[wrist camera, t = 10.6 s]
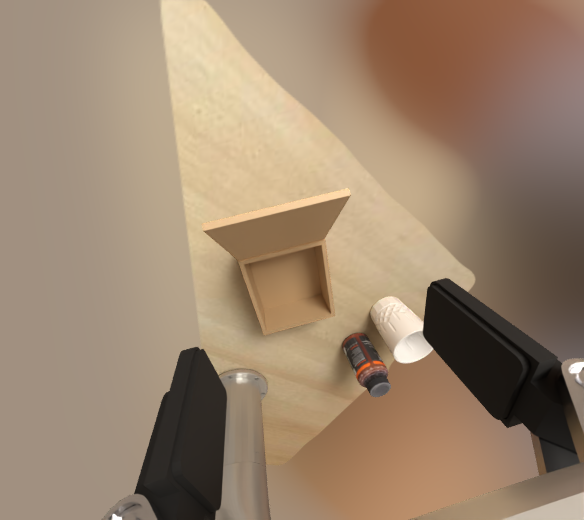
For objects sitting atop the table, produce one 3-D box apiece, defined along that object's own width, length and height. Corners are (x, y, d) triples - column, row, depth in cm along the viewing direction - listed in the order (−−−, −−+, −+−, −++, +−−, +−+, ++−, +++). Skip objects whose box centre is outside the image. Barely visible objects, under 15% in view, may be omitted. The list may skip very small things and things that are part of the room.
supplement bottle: (337, 350, 53) (359, 400, 43) (347, 330, 51) (373, 378, 41) (361, 352, 55) (386, 401, 45) (372, 332, 52) (402, 379, 43)
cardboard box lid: (350, 195, 19) (348, 188, 19) (203, 231, 18) (201, 223, 19) (324, 238, 33) (323, 234, 33) (238, 260, 32) (237, 256, 32)
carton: (324, 294, 45) (335, 315, 40) (260, 311, 44) (263, 335, 39) (313, 224, 38) (325, 239, 33) (238, 243, 37) (237, 262, 32)
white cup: (406, 291, 48) (442, 326, 40) (399, 321, 52) (430, 359, 43) (369, 296, 47) (398, 333, 38) (364, 326, 51) (389, 366, 42)
